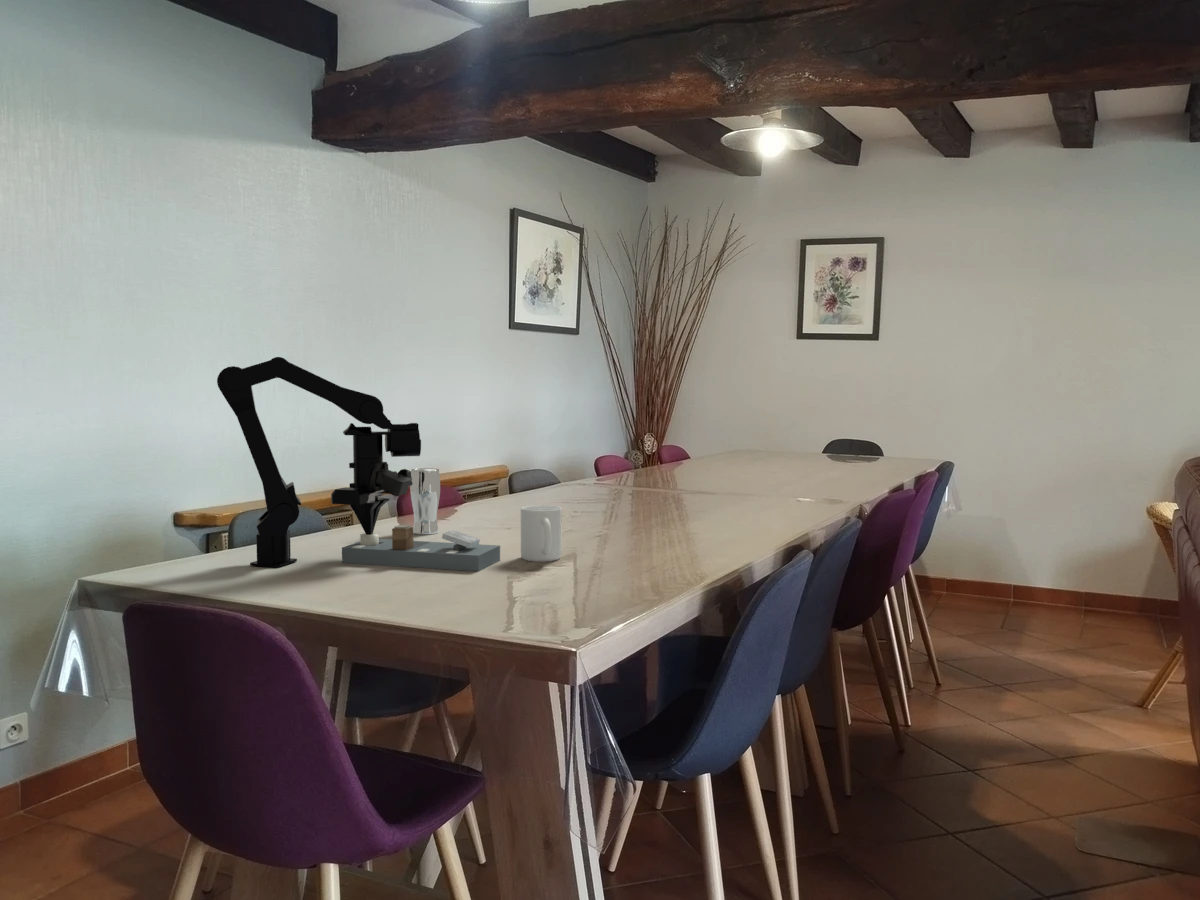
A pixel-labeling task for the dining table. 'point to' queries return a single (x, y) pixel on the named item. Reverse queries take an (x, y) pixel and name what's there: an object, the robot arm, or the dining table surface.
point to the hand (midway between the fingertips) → (369, 534)
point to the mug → (541, 533)
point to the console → (424, 555)
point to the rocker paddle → (460, 538)
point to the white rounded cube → (369, 539)
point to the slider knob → (402, 537)
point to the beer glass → (425, 500)
